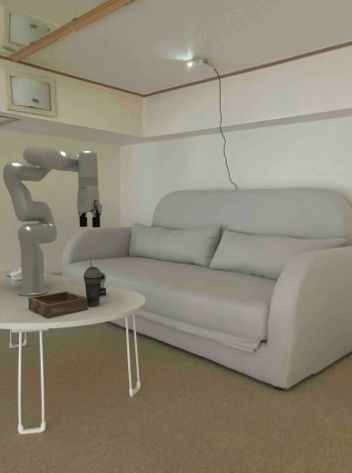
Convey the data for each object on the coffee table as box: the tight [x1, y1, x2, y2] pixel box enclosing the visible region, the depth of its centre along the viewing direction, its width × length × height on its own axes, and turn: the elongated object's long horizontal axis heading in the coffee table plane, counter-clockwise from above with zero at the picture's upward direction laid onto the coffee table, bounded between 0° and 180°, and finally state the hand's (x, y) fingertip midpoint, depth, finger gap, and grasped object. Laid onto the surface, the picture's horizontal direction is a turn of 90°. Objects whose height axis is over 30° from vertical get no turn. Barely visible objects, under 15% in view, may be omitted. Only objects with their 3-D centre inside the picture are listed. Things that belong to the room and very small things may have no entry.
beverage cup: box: [83, 255, 102, 308], centre depth 148 cm, size 7×7×20 cm
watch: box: [100, 270, 107, 297], centre depth 166 cm, size 6×8×11 cm
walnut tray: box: [28, 290, 89, 319], centre depth 143 cm, size 16×16×4 cm
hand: (89, 227), depth 147 cm, fingers open, 9 cm apart
